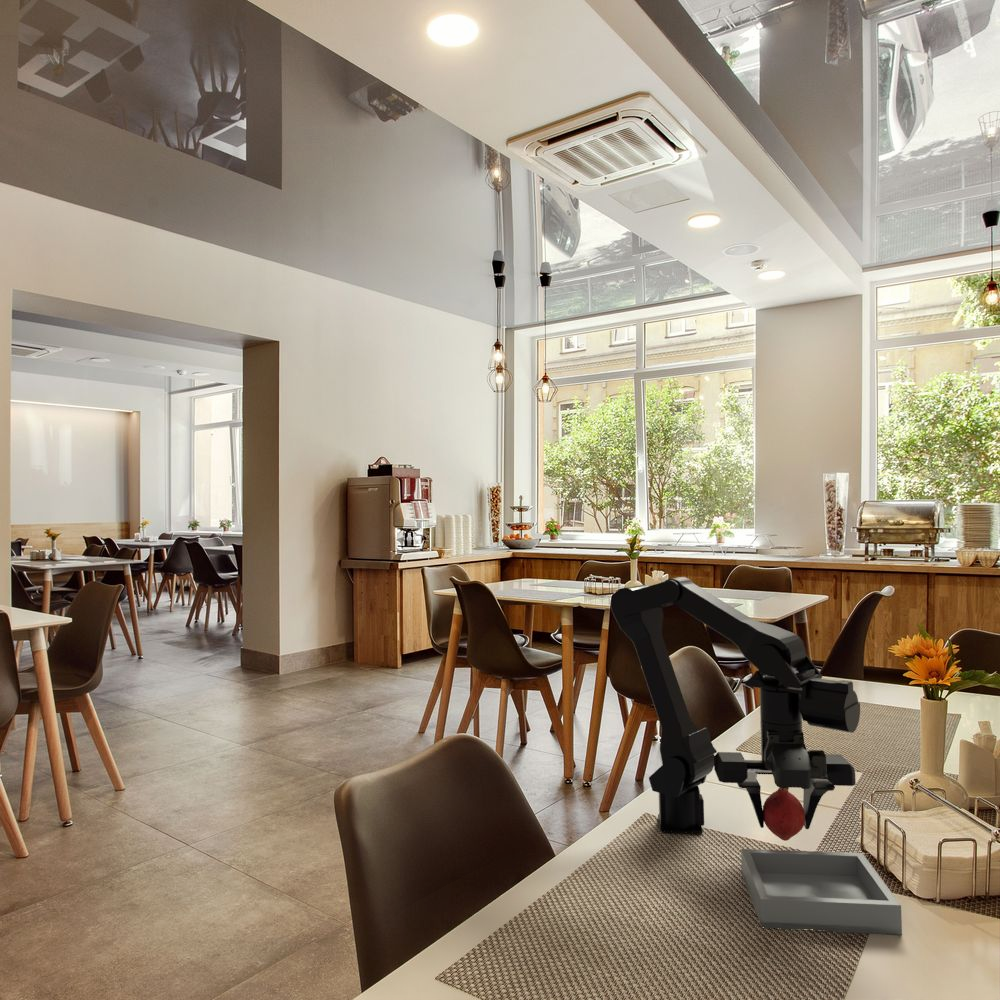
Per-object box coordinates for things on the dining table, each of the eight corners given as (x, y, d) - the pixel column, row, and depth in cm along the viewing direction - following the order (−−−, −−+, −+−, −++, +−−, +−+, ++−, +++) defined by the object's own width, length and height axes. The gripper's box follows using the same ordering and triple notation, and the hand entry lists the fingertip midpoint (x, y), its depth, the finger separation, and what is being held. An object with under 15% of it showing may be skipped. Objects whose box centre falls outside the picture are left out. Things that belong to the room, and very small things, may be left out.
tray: (761, 928, 94) (760, 899, 94) (741, 874, 108) (741, 848, 108) (902, 935, 92) (901, 905, 92) (863, 879, 105) (862, 853, 105)
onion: (785, 852, 109) (783, 795, 109) (754, 837, 114) (753, 782, 114) (814, 843, 111) (812, 787, 111) (783, 829, 116) (781, 775, 117)
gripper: (723, 734, 106) (726, 849, 106) (867, 737, 104) (870, 854, 103) (712, 713, 117) (715, 817, 117) (841, 715, 115) (844, 821, 114)
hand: (783, 827), depth 113 cm, fingers closed on onion, 6 cm apart
